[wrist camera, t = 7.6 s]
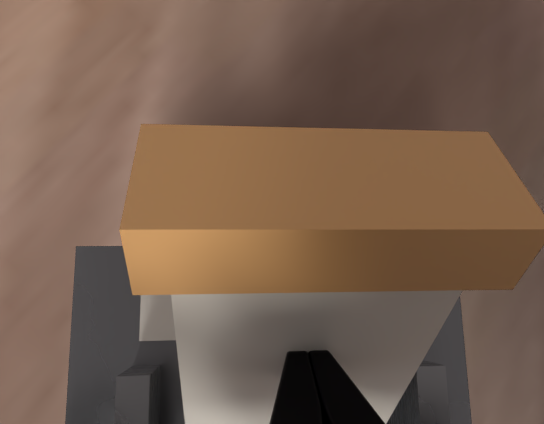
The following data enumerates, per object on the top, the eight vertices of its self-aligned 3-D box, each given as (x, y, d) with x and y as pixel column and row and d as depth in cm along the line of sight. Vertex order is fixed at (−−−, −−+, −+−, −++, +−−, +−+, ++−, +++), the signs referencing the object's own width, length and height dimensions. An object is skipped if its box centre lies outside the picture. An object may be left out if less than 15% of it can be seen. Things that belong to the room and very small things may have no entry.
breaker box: (407, 506, 20) (540, 644, 12) (105, 526, 19) (16, 697, 10) (391, 262, 22) (495, 233, 14) (116, 264, 21) (49, 234, 12)
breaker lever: (395, 459, 13) (554, 228, 7) (167, 472, 12) (119, 229, 6) (374, 376, 15) (488, 131, 9) (174, 383, 14) (141, 124, 8)
